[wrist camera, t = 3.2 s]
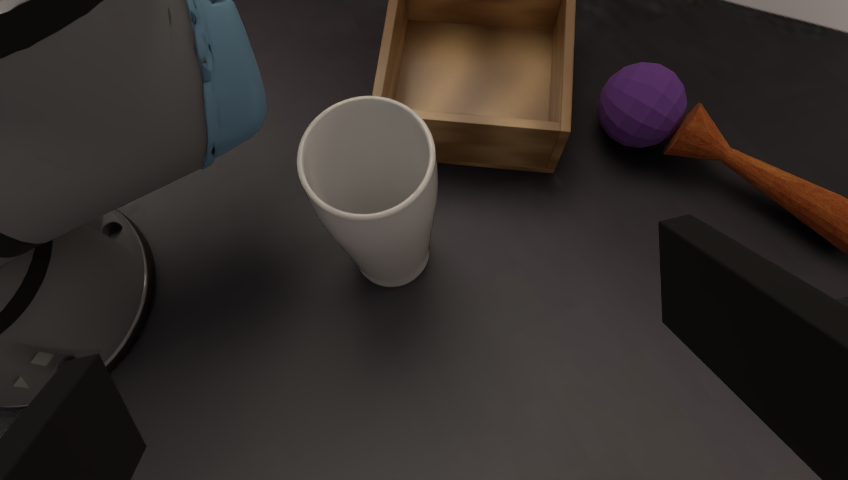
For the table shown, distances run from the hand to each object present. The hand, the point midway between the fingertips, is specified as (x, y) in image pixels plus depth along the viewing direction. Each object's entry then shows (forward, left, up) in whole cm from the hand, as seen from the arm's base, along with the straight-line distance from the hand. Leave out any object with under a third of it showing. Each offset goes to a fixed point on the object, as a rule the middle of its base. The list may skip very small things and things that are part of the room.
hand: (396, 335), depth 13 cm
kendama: (+19, +19, -25) cm, 37 cm away
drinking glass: (-4, +10, -25) cm, 28 cm away
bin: (+1, +24, -25) cm, 35 cm away
